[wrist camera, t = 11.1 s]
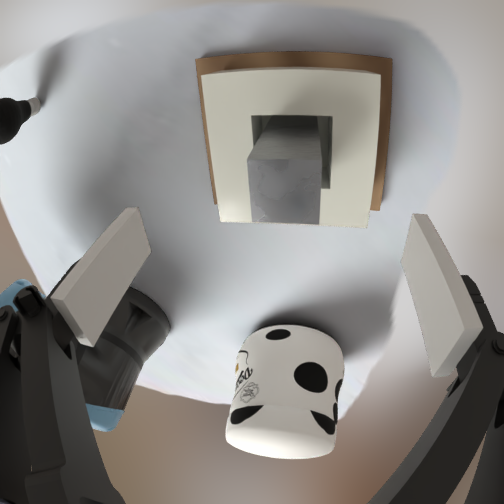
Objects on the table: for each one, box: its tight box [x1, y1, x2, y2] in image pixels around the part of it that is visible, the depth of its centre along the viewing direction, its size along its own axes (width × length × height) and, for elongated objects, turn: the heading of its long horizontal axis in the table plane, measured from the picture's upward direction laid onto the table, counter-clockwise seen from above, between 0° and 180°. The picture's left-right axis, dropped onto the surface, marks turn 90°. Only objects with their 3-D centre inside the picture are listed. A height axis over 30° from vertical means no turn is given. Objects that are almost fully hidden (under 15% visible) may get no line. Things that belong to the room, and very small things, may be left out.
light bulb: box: [0, 98, 41, 145], centre depth 25 cm, size 6×6×10 cm
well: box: [201, 67, 381, 228], centre depth 24 cm, size 13×13×6 cm
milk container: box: [226, 324, 344, 459], centre depth 42 cm, size 17×17×18 cm
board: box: [195, 51, 392, 211], centre depth 27 cm, size 18×16×1 cm
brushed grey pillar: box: [247, 115, 322, 225], centre depth 21 cm, size 4×4×12 cm
